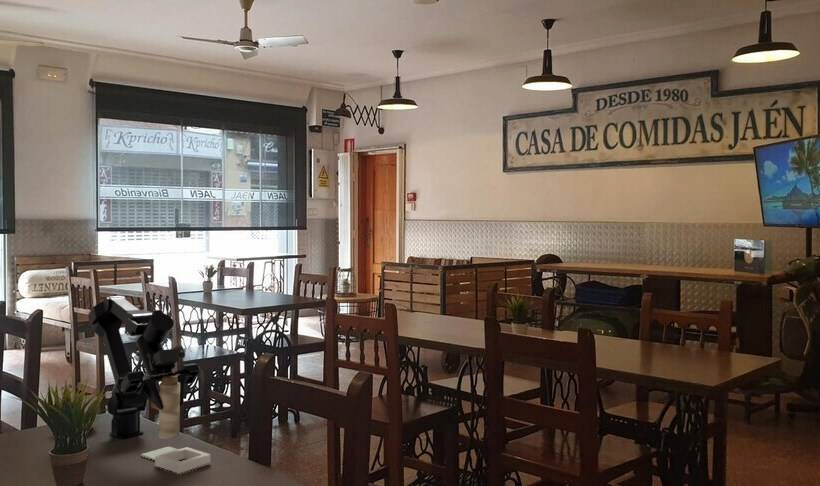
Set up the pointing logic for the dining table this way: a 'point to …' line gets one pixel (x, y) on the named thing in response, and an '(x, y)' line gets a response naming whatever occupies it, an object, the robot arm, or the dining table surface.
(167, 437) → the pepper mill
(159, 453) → the rubber mat
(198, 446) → the dining table surface
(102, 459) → the dining table surface
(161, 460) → the pocket holder
